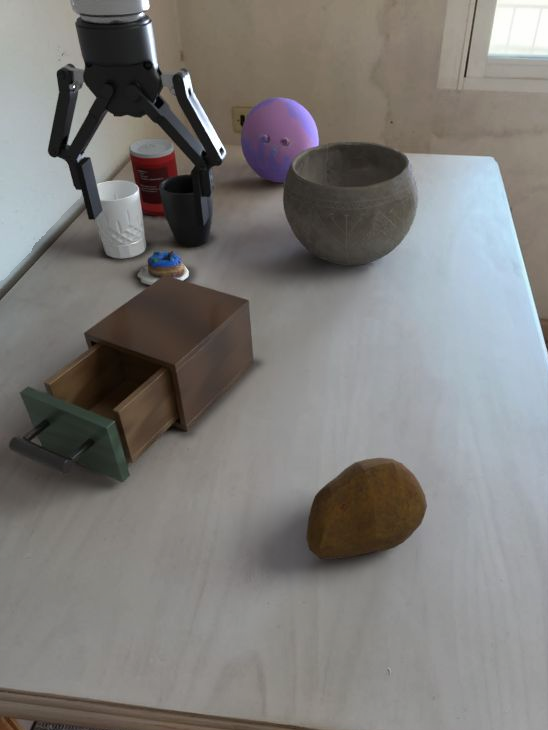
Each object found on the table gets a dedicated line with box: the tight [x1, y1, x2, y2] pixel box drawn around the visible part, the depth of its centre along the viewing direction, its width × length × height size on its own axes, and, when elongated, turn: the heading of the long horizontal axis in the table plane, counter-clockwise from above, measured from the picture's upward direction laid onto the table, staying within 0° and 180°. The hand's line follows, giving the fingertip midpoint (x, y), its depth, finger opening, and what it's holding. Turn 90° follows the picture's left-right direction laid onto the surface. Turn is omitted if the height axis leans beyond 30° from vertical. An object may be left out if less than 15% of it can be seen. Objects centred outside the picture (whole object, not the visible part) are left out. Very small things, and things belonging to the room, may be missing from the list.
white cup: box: [93, 179, 147, 259], centre depth 101 cm, size 8×8×10 cm
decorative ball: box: [240, 97, 320, 184], centre depth 122 cm, size 15×15×15 cm
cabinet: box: [83, 275, 255, 432], centre depth 76 cm, size 15×13×10 cm
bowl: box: [282, 141, 419, 266], centre depth 100 cm, size 21×21×15 cm
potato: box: [306, 457, 428, 560], centre depth 59 cm, size 8×12×9 cm
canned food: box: [128, 138, 179, 217], centre depth 113 cm, size 8×8×11 cm
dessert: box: [137, 250, 190, 286], centre depth 97 cm, size 8×7×6 cm
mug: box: [159, 173, 214, 248], centre depth 105 cm, size 8×12×10 cm
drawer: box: [8, 343, 179, 483], centre depth 67 cm, size 18×11×8 cm, turn 153°
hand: (149, 218), depth 77 cm, fingers open, 13 cm apart
